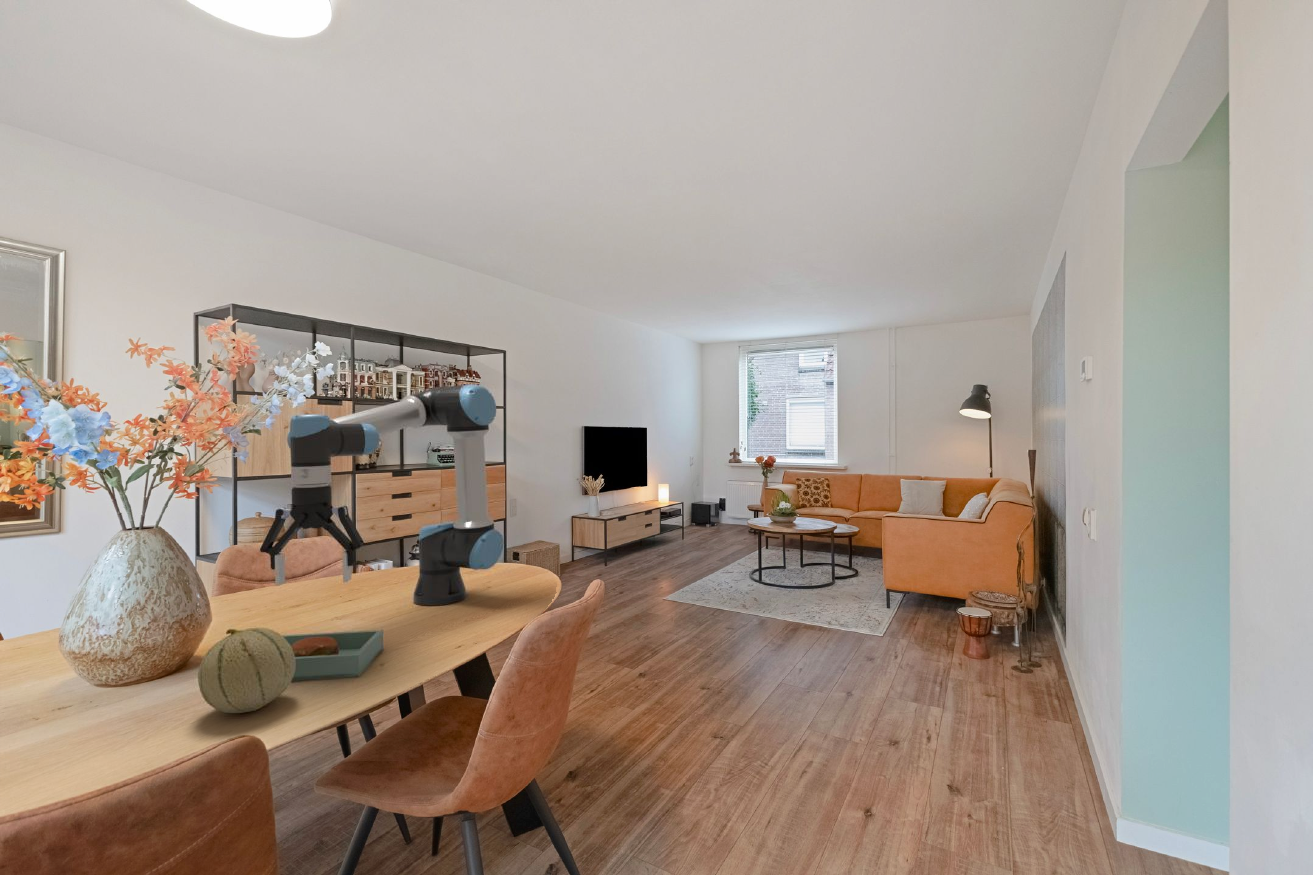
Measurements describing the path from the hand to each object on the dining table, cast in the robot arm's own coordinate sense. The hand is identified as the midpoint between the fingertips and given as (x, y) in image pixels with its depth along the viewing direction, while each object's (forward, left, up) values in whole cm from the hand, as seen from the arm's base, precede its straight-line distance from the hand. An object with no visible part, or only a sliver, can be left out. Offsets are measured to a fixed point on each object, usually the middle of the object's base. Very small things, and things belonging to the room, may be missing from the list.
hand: (314, 582), depth 129 cm
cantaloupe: (+20, -3, -18) cm, 27 cm away
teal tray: (0, 0, -18) cm, 18 cm away
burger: (0, 0, -17) cm, 17 cm away
